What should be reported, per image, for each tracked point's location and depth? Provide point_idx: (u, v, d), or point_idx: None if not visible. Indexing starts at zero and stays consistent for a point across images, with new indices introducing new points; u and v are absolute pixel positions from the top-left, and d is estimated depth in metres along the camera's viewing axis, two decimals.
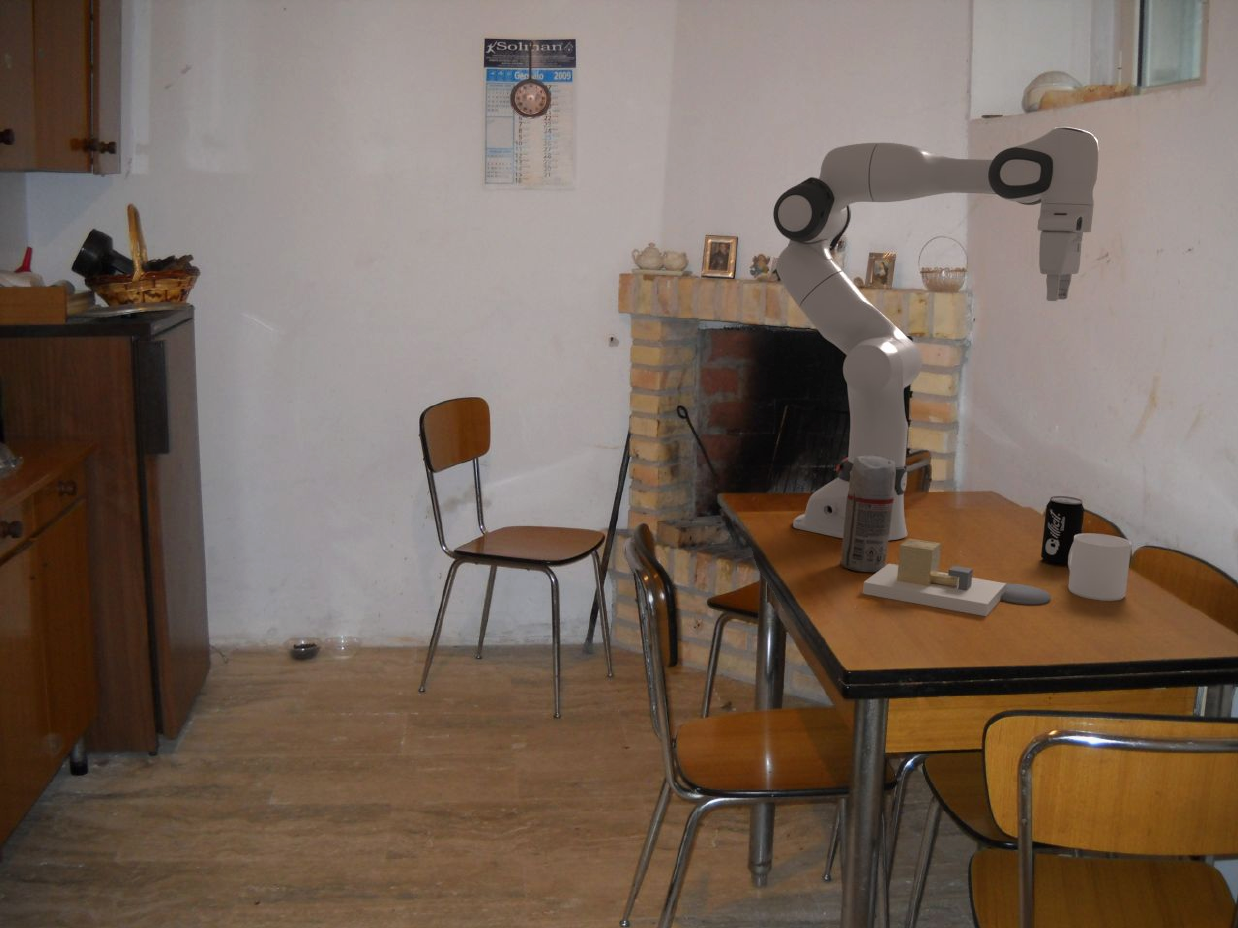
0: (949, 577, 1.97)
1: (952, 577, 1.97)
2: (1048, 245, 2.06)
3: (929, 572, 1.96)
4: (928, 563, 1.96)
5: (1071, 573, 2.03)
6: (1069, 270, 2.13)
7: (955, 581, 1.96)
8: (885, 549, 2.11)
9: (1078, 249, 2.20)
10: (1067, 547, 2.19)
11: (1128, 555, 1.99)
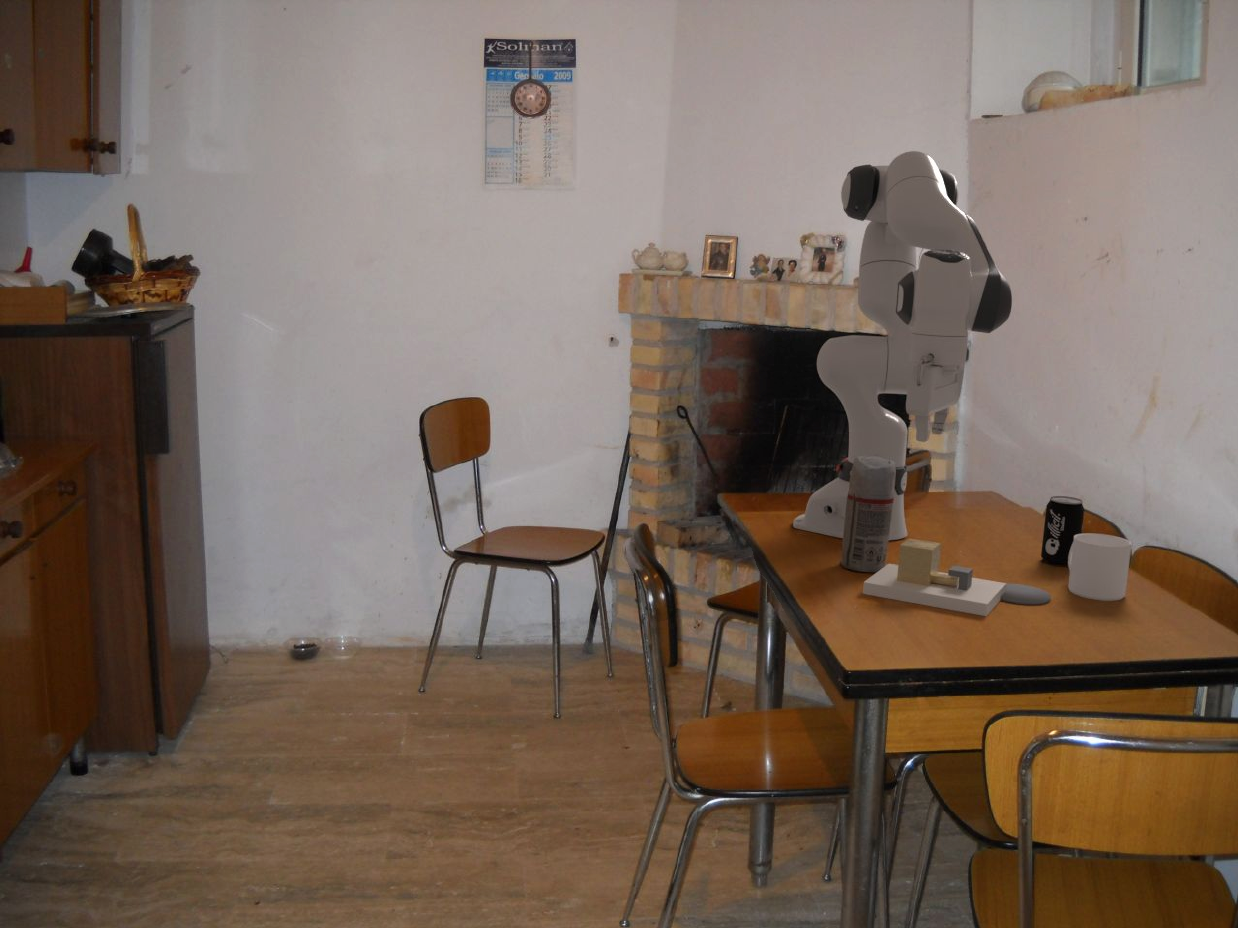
0: (949, 577, 1.97)
1: (952, 577, 1.97)
2: None
3: (929, 572, 1.96)
4: (928, 563, 1.96)
5: (1071, 573, 2.03)
6: None
7: (955, 581, 1.96)
8: (885, 549, 2.11)
9: None
10: (1067, 547, 2.19)
11: (1128, 555, 1.99)
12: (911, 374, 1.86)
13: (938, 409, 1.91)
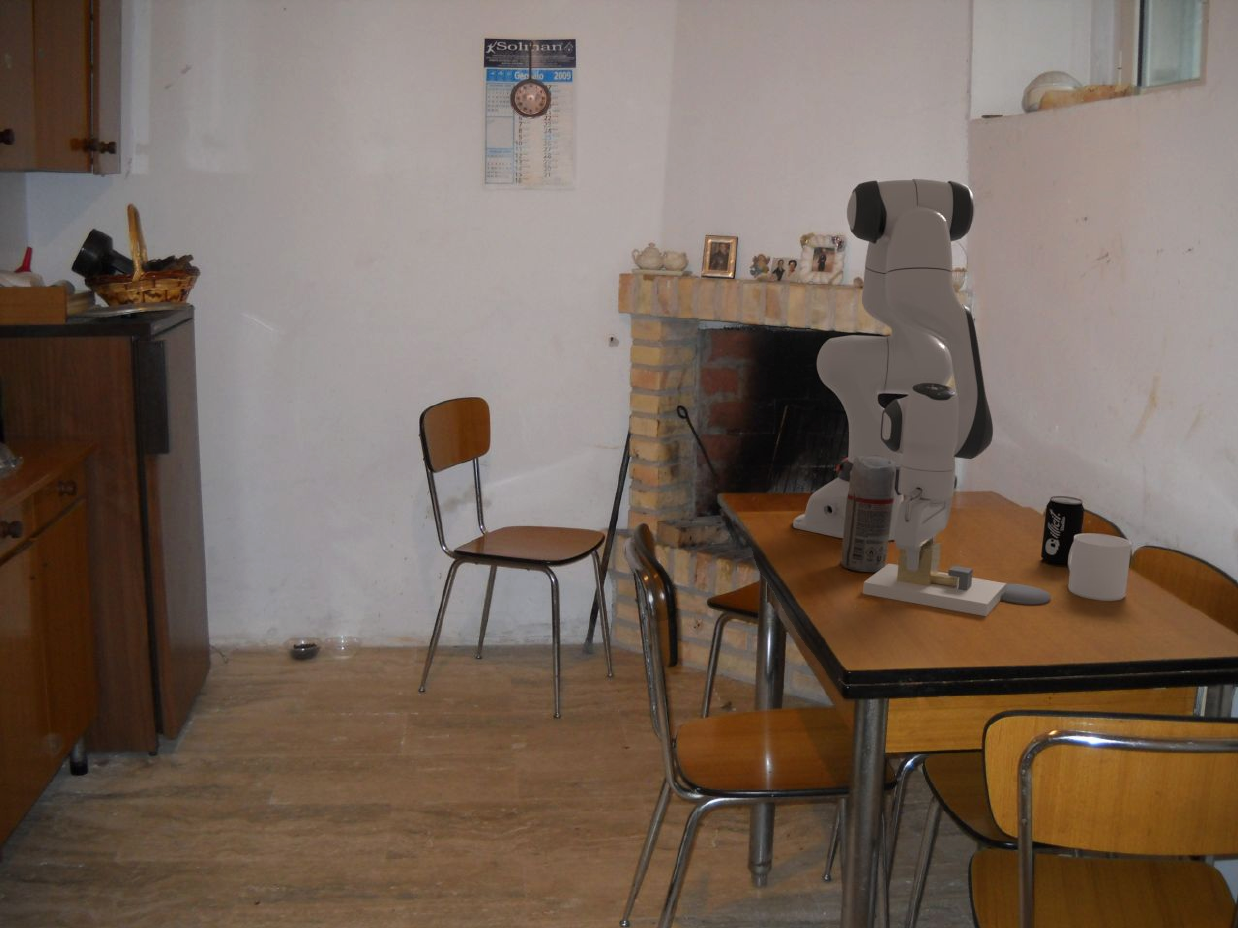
0: (949, 577, 1.97)
1: (952, 577, 1.97)
2: None
3: (929, 572, 1.96)
4: (928, 563, 1.96)
5: (1071, 573, 2.03)
6: None
7: (955, 581, 1.96)
8: (885, 549, 2.11)
9: None
10: (1067, 547, 2.19)
11: (1128, 555, 1.99)
12: (899, 510, 1.90)
13: (926, 540, 1.95)
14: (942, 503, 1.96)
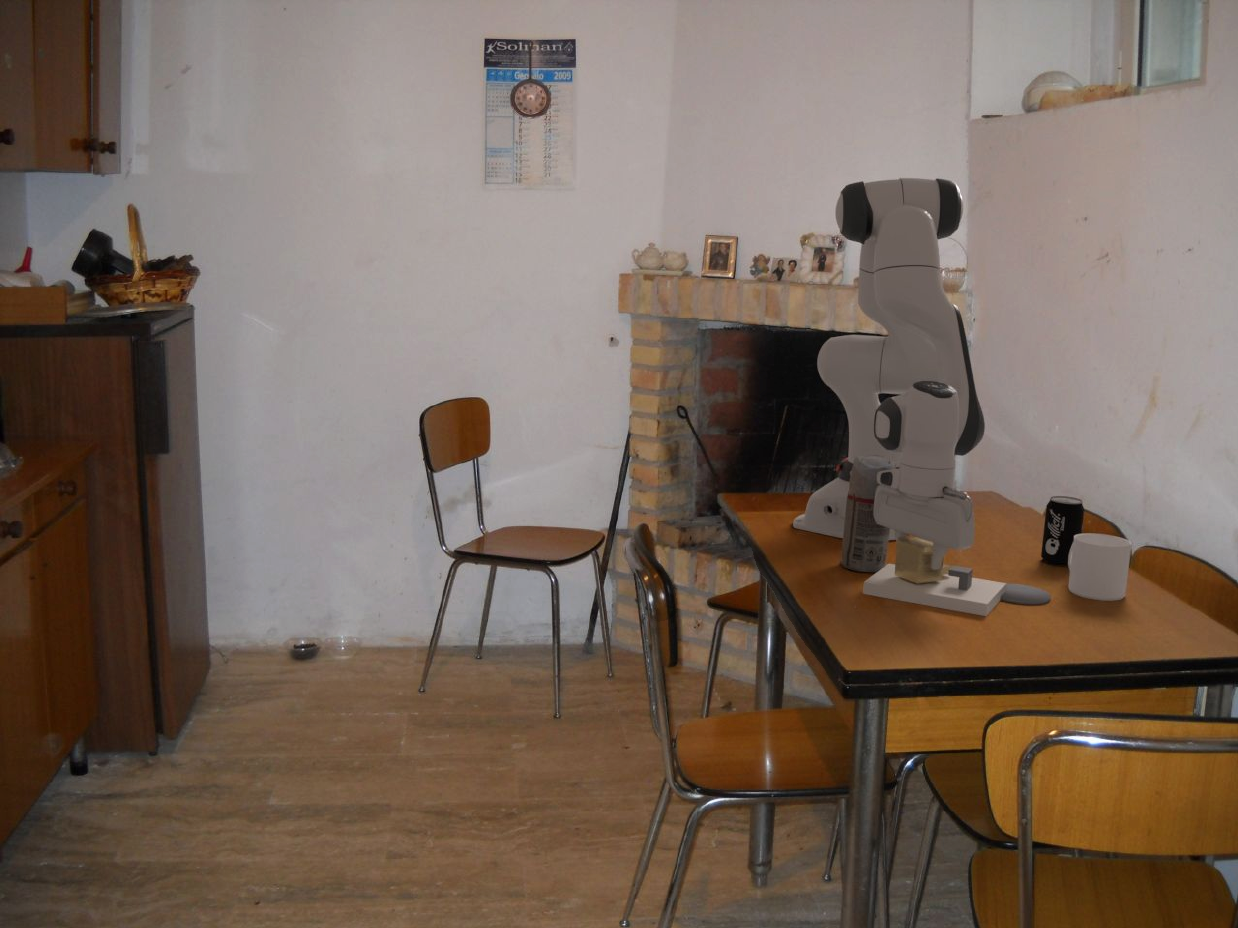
0: (943, 566, 2.02)
1: (944, 566, 2.03)
2: None
3: (941, 566, 1.99)
4: None
5: (1071, 573, 2.03)
6: (907, 530, 1.99)
7: None
8: (885, 549, 2.11)
9: (948, 520, 1.91)
10: (1067, 547, 2.19)
11: (1128, 555, 1.99)
12: (959, 511, 1.89)
13: None
14: None
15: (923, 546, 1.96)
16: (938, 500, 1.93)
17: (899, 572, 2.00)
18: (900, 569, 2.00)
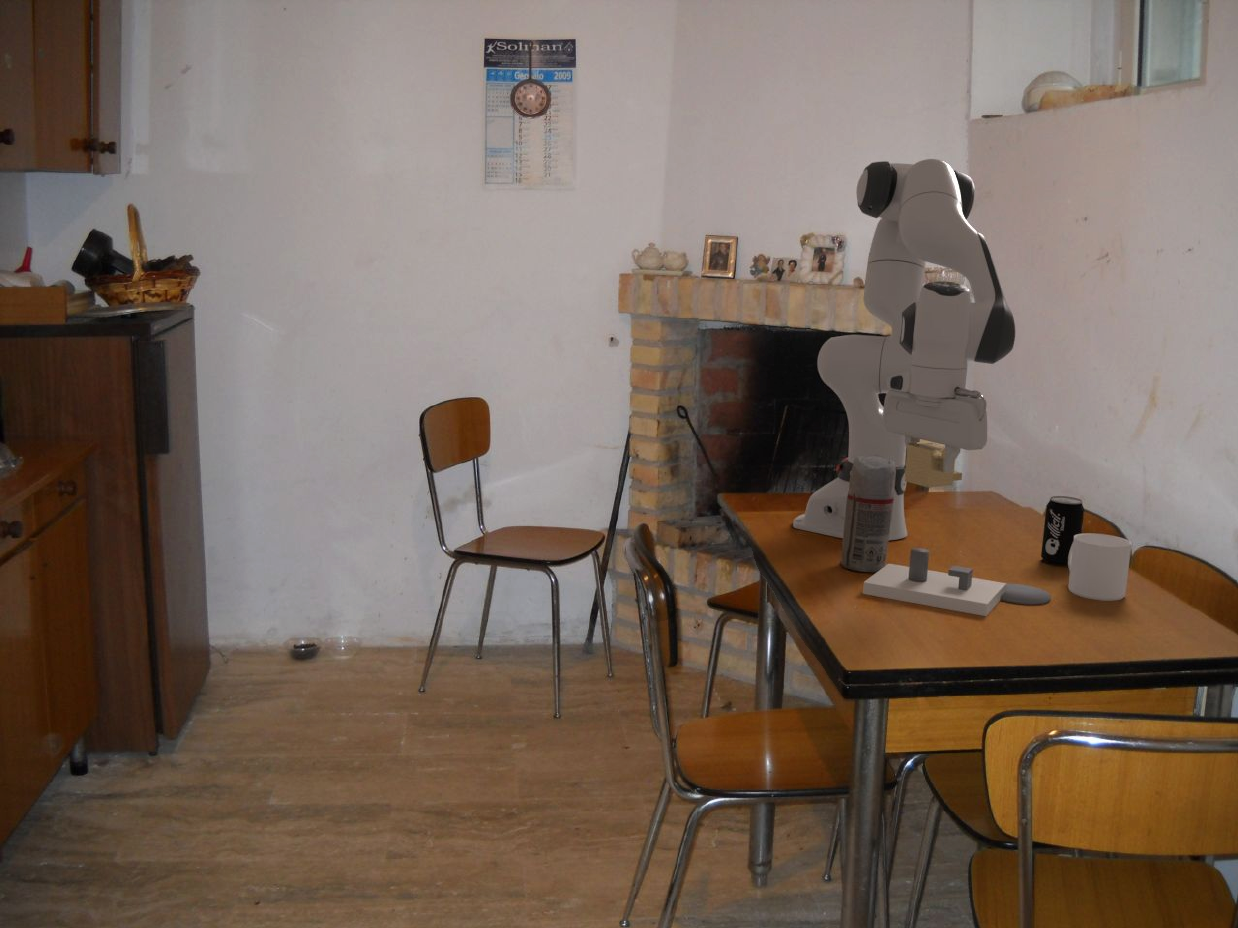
0: (954, 473, 1.99)
1: (954, 472, 2.00)
2: None
3: (952, 471, 1.96)
4: None
5: (1071, 573, 2.03)
6: (918, 434, 1.96)
7: (961, 475, 1.99)
8: (885, 549, 2.11)
9: (960, 420, 1.88)
10: (1067, 547, 2.19)
11: (1128, 555, 1.99)
12: (972, 410, 1.86)
13: None
14: None
15: (934, 449, 1.93)
16: (950, 401, 1.90)
17: (910, 477, 1.97)
18: (910, 474, 1.97)
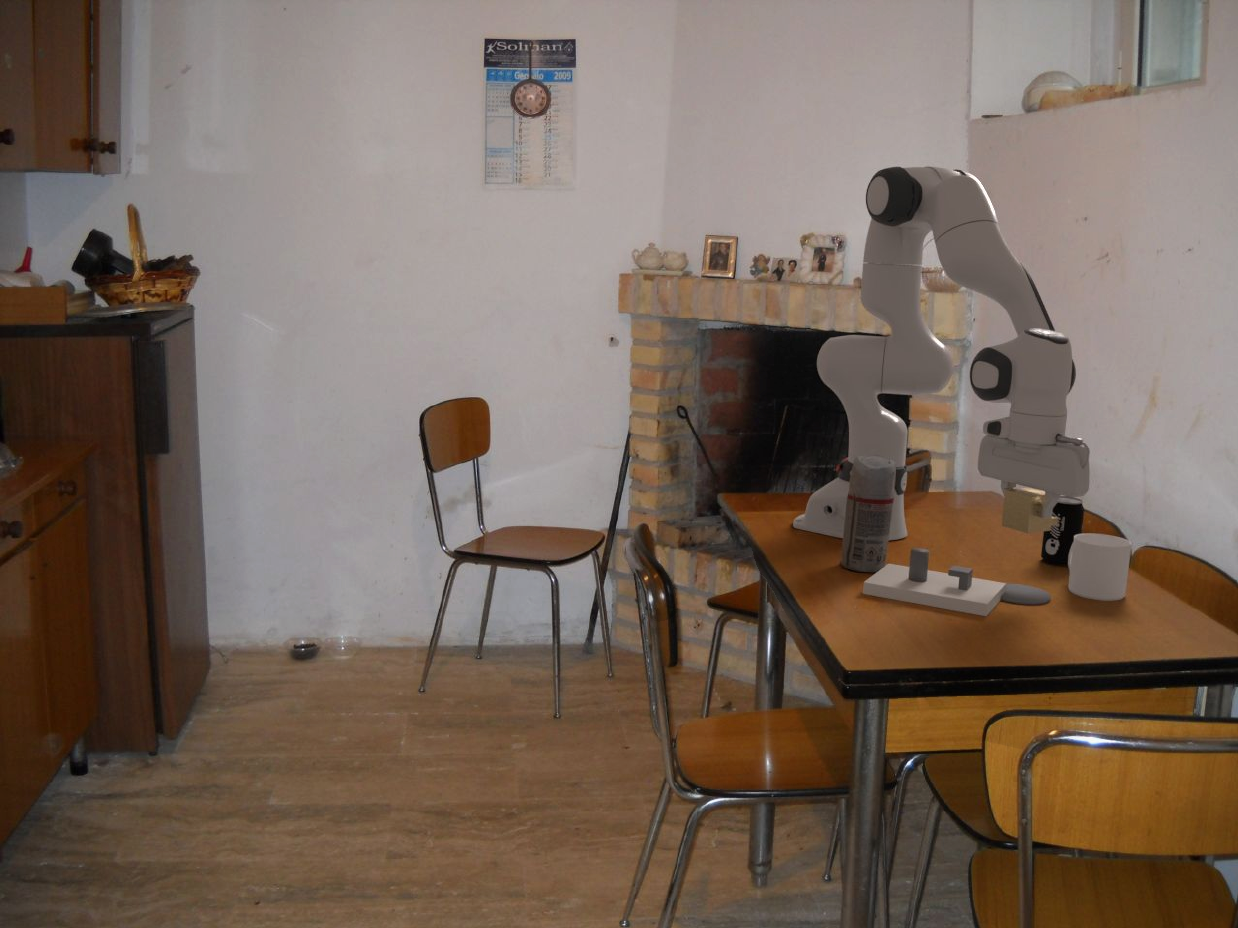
0: None
1: None
2: None
3: None
4: None
5: (1071, 573, 2.03)
6: (1016, 480, 1.97)
7: (1057, 520, 2.00)
8: (885, 549, 2.11)
9: (1062, 467, 1.89)
10: (1067, 547, 2.19)
11: (1128, 555, 1.99)
12: (1075, 458, 1.87)
13: None
14: None
15: (1034, 495, 1.94)
16: (1051, 447, 1.91)
17: (1007, 522, 1.98)
18: (1008, 520, 1.98)
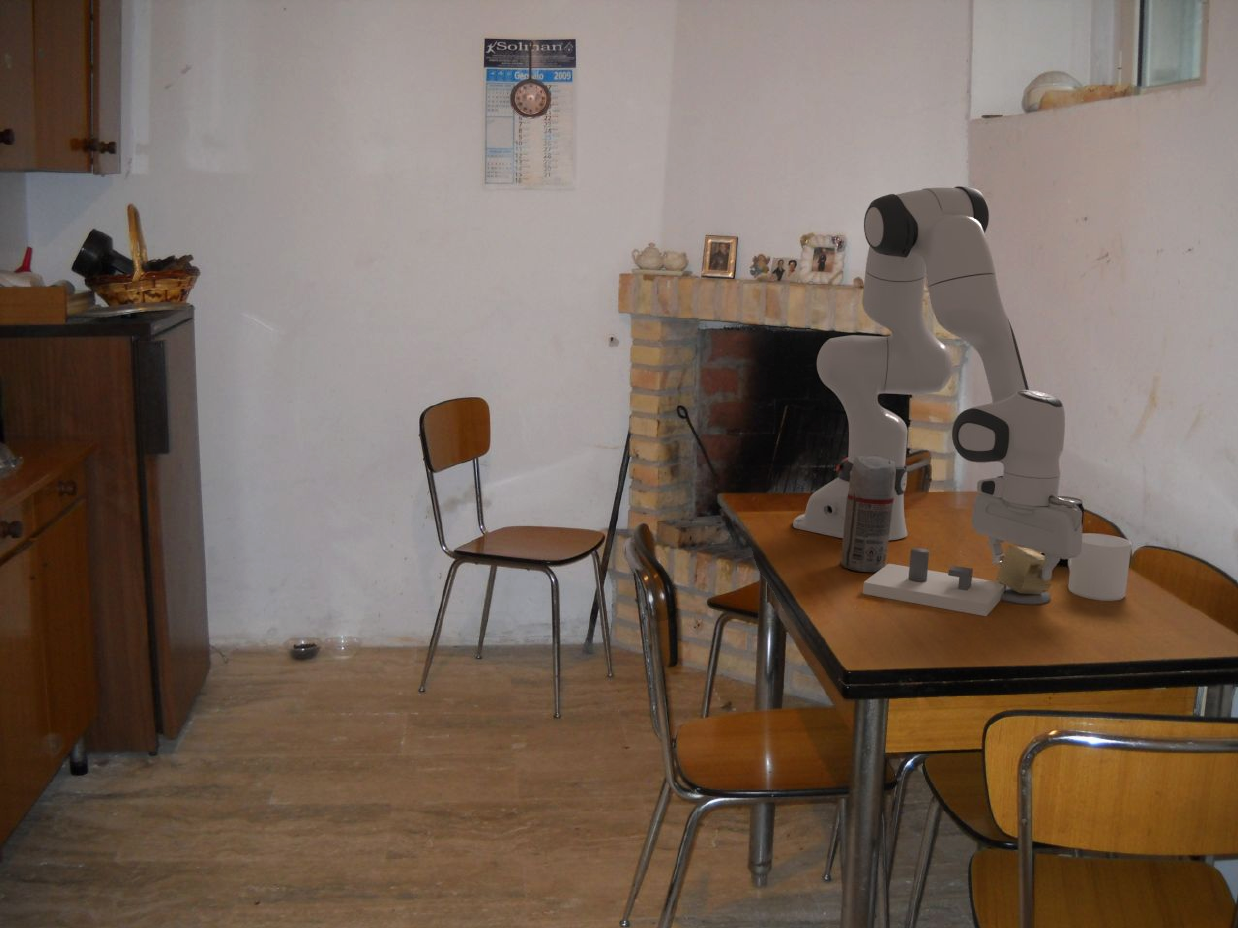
0: None
1: None
2: None
3: (1045, 582, 1.99)
4: None
5: (1071, 573, 2.03)
6: (1010, 539, 1.99)
7: (1049, 585, 2.02)
8: (885, 549, 2.11)
9: (1055, 529, 1.91)
10: None
11: (1128, 555, 1.99)
12: (1068, 521, 1.89)
13: None
14: None
15: (1034, 558, 1.96)
16: (1044, 509, 1.93)
17: (1002, 578, 2.00)
18: (1003, 575, 1.99)
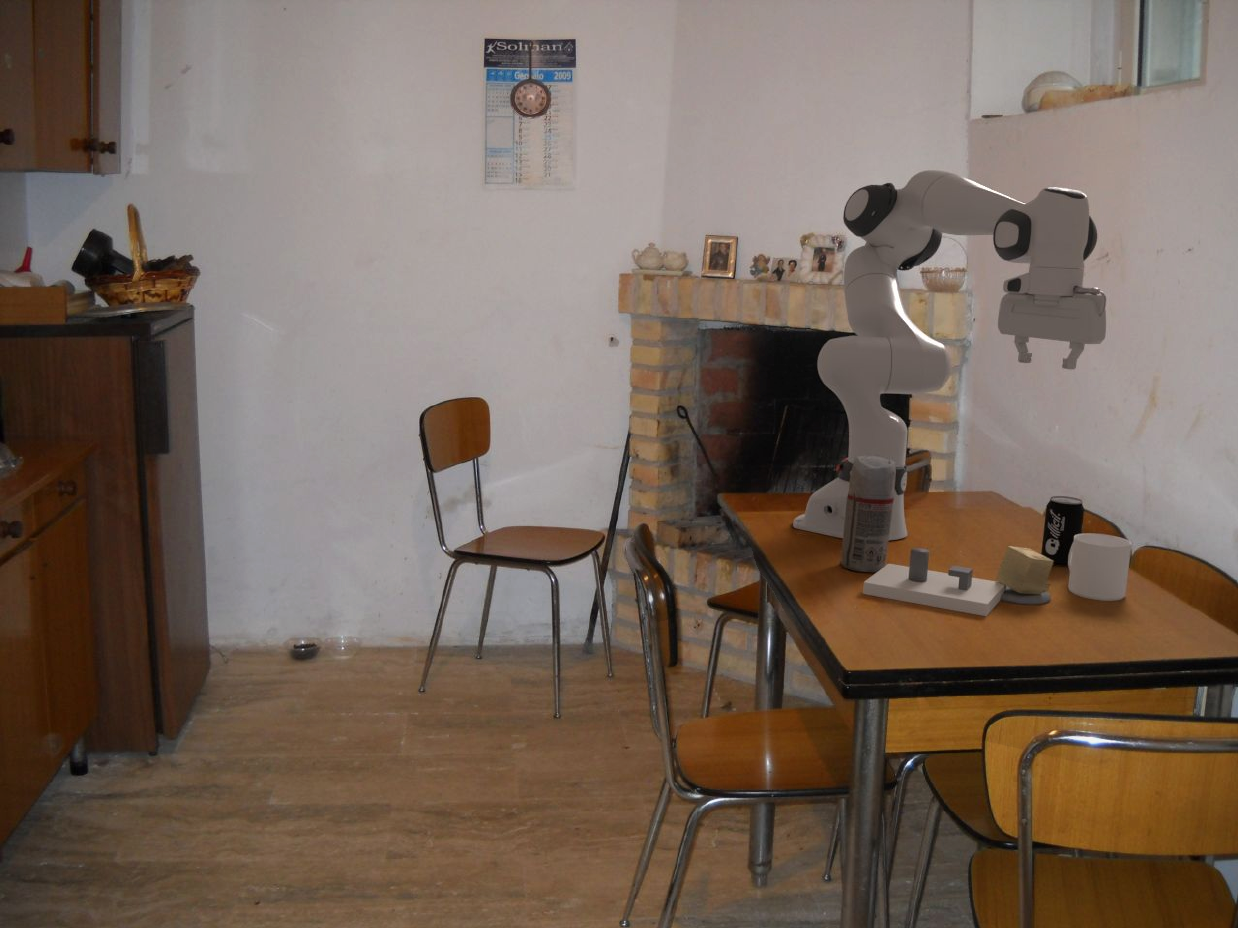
0: None
1: None
2: None
3: (1045, 582, 1.99)
4: (1047, 573, 1.98)
5: (1071, 573, 2.03)
6: (1035, 333, 2.06)
7: (1049, 585, 2.02)
8: (885, 549, 2.11)
9: (1080, 316, 1.99)
10: (1067, 547, 2.19)
11: (1128, 555, 1.99)
12: (1093, 306, 1.97)
13: None
14: None
15: (1034, 558, 1.96)
16: (1069, 298, 2.00)
17: (1002, 578, 2.00)
18: (1004, 575, 1.99)
